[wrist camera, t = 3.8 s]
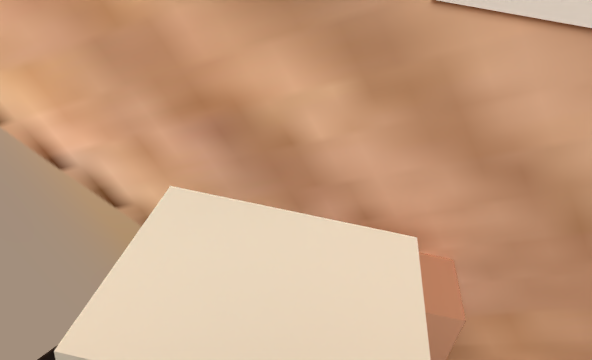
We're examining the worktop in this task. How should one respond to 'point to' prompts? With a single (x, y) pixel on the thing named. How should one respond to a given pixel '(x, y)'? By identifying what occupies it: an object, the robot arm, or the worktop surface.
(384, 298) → the cream brick
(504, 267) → the worktop surface
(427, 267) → the rust brick
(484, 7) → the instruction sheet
